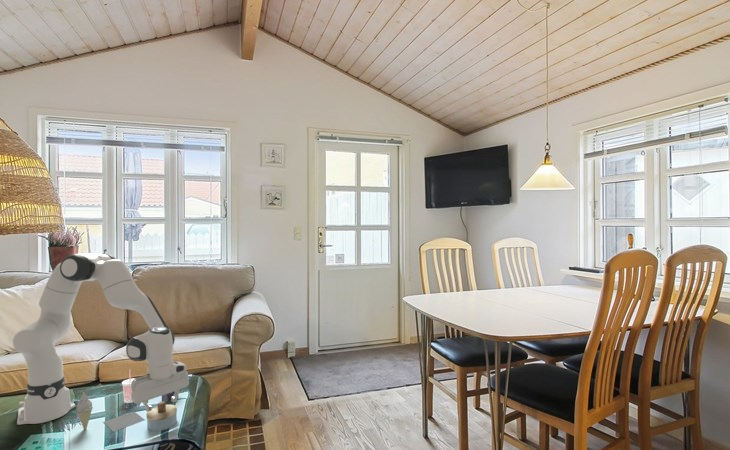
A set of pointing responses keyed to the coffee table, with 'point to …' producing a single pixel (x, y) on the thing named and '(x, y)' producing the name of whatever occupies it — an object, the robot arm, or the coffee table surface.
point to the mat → (123, 421)
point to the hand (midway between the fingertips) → (161, 406)
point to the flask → (167, 396)
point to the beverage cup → (127, 389)
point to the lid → (161, 412)
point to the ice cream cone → (84, 410)
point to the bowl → (162, 423)
